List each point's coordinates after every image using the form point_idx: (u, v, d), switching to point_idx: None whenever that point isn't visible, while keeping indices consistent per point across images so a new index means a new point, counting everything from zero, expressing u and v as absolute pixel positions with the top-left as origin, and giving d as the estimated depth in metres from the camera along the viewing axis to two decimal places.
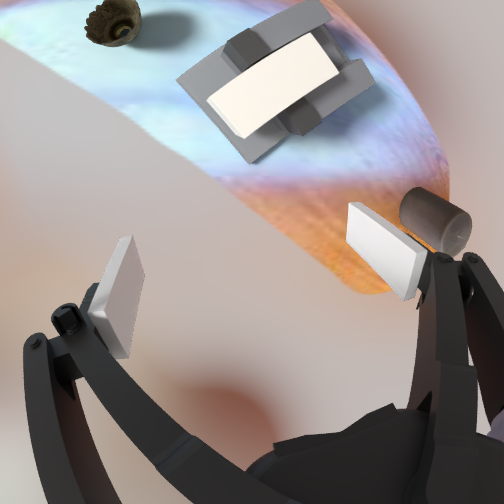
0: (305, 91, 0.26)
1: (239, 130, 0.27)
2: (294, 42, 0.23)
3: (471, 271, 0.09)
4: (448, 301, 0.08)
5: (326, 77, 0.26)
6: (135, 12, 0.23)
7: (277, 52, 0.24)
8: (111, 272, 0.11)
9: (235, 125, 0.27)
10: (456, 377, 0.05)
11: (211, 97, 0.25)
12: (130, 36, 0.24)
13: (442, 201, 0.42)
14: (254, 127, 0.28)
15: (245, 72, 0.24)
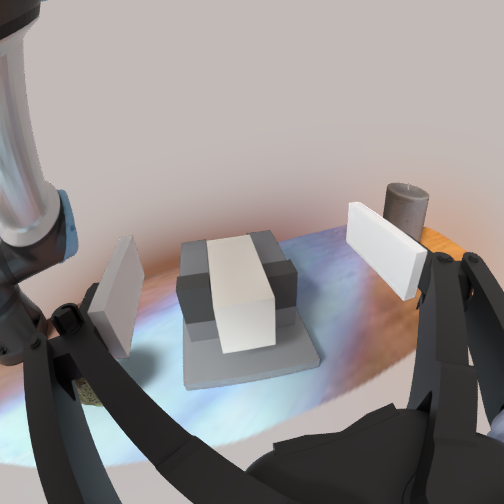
0: (254, 253, 0.34)
1: (263, 298, 0.27)
2: (208, 249, 0.36)
3: (471, 271, 0.09)
4: (448, 301, 0.08)
5: (249, 241, 0.37)
6: None
7: (209, 259, 0.34)
8: (111, 272, 0.11)
9: (256, 300, 0.27)
10: (456, 376, 0.05)
11: (215, 306, 0.26)
12: None
13: (384, 211, 0.54)
14: (267, 288, 0.28)
15: (211, 279, 0.30)
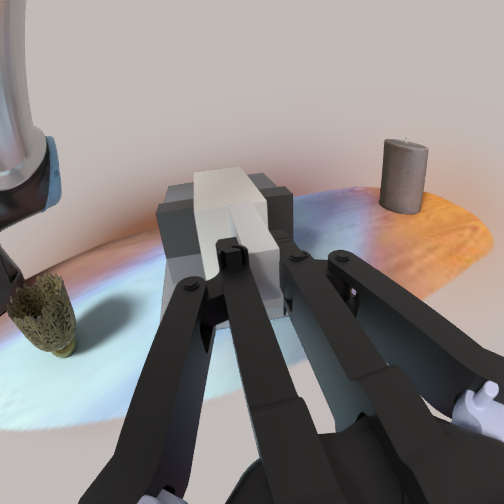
0: (244, 175, 0.30)
1: (253, 201, 0.23)
2: (195, 177, 0.32)
3: (348, 275, 0.10)
4: (326, 305, 0.09)
5: (239, 169, 0.33)
6: None
7: (195, 182, 0.30)
8: (244, 227, 0.14)
9: None
10: (386, 388, 0.05)
11: (196, 210, 0.22)
12: (67, 306, 0.22)
13: (383, 166, 0.50)
14: (258, 195, 0.24)
15: (195, 193, 0.26)
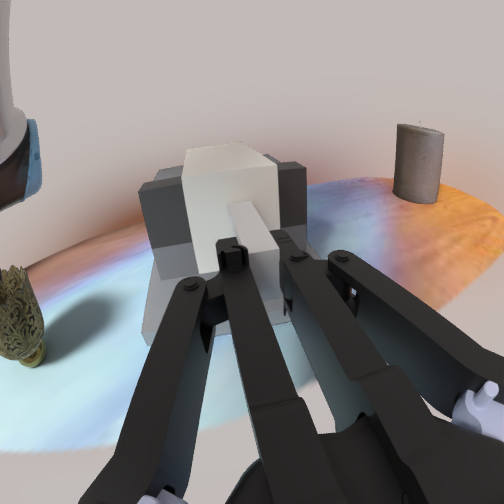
0: (247, 147, 0.24)
1: (260, 166, 0.17)
2: (188, 152, 0.26)
3: (348, 275, 0.10)
4: (326, 305, 0.09)
5: (240, 143, 0.27)
6: None
7: (187, 155, 0.24)
8: (244, 227, 0.14)
9: (249, 167, 0.17)
10: (385, 388, 0.05)
11: (184, 176, 0.16)
12: (30, 306, 0.16)
13: (396, 152, 0.44)
14: (266, 160, 0.18)
15: (185, 163, 0.20)
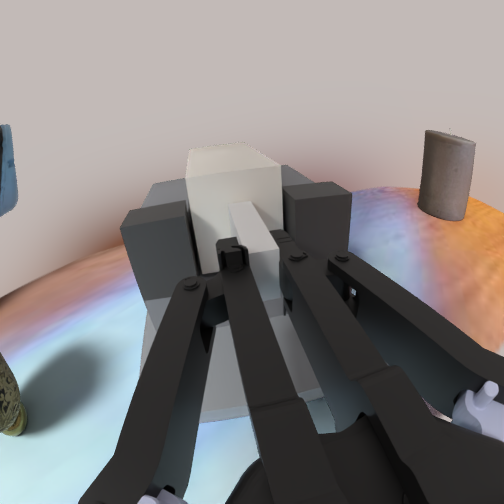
0: (249, 148, 0.25)
1: (263, 166, 0.17)
2: (190, 152, 0.26)
3: (348, 275, 0.10)
4: (326, 305, 0.09)
5: (243, 144, 0.27)
6: None
7: (190, 155, 0.24)
8: (244, 227, 0.14)
9: (252, 167, 0.17)
10: (386, 388, 0.05)
11: (188, 177, 0.16)
12: None
13: (424, 161, 0.38)
14: (269, 161, 0.18)
15: (189, 164, 0.20)
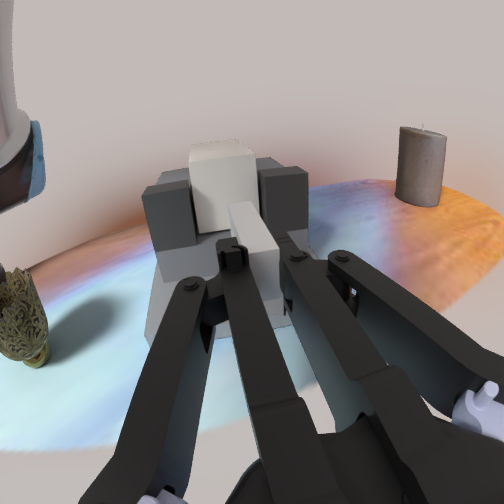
0: (238, 143, 0.31)
1: (243, 154, 0.24)
2: (192, 146, 0.33)
3: (348, 275, 0.10)
4: (326, 305, 0.09)
5: (234, 140, 0.34)
6: None
7: (192, 149, 0.31)
8: (244, 227, 0.14)
9: (235, 155, 0.24)
10: (386, 388, 0.05)
11: (190, 161, 0.23)
12: (34, 308, 0.17)
13: (399, 154, 0.44)
14: (248, 151, 0.25)
15: (191, 154, 0.27)
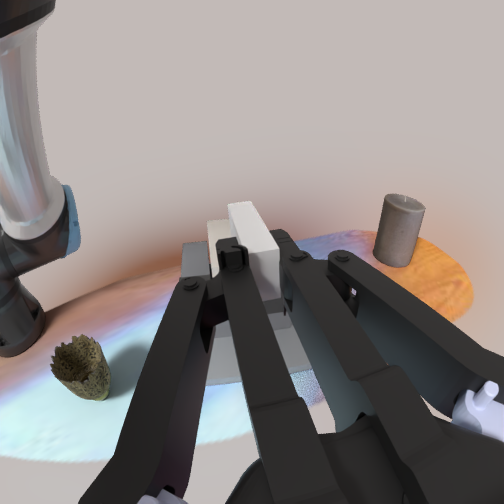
0: None
1: None
2: (208, 227, 0.44)
3: (348, 275, 0.10)
4: (326, 305, 0.09)
5: None
6: (90, 358, 0.30)
7: (209, 234, 0.42)
8: (244, 227, 0.14)
9: None
10: (386, 388, 0.05)
11: (212, 266, 0.34)
12: (105, 367, 0.27)
13: (380, 220, 0.56)
14: None
15: (210, 248, 0.38)
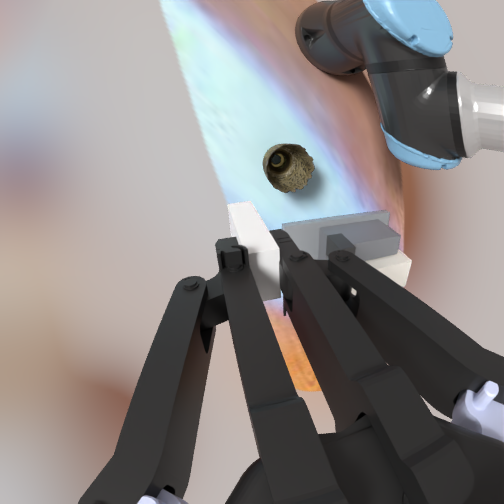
0: None
1: None
2: (402, 263, 0.47)
3: (348, 275, 0.10)
4: (326, 305, 0.09)
5: None
6: (300, 161, 0.43)
7: (392, 266, 0.46)
8: (244, 227, 0.14)
9: None
10: (386, 388, 0.05)
11: None
12: None
13: None
14: None
15: None
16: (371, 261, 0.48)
